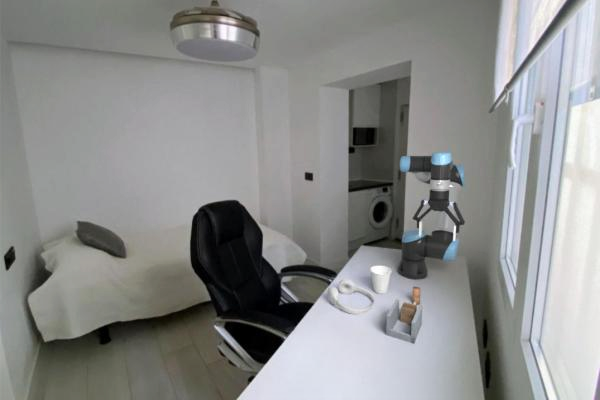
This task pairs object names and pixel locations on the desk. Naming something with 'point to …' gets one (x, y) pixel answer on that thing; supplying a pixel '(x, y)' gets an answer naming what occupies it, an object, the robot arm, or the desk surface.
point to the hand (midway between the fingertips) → (436, 237)
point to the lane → (392, 320)
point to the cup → (380, 278)
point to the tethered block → (410, 307)
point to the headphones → (347, 288)
